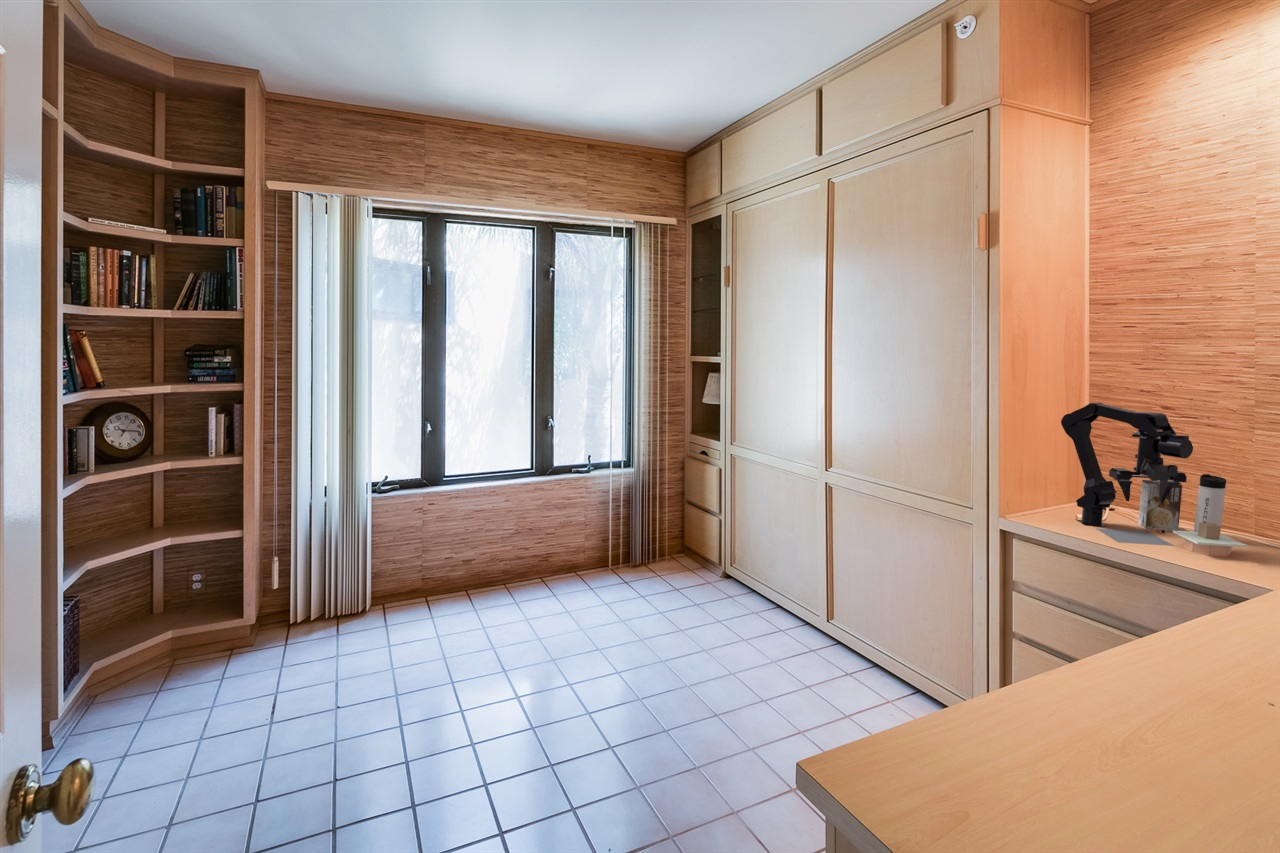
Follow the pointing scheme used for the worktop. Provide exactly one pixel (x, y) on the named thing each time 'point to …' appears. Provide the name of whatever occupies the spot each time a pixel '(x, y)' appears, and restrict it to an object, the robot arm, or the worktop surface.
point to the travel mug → (1210, 500)
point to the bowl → (1208, 549)
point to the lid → (1209, 536)
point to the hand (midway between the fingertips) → (1144, 501)
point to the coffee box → (1159, 507)
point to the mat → (1134, 537)
